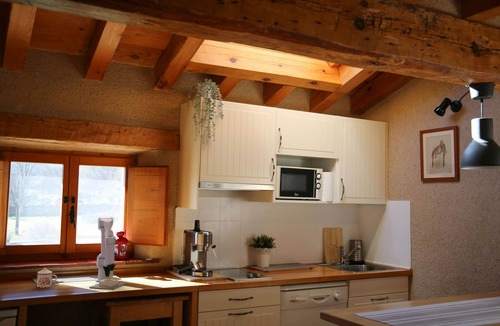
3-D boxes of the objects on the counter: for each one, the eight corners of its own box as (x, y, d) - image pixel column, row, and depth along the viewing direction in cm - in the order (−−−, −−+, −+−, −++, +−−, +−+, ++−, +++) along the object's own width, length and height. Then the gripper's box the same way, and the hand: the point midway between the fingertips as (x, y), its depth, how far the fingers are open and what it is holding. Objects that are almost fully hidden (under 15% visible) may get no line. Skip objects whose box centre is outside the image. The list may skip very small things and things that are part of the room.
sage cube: (105, 278, 329) (105, 270, 329) (112, 278, 329) (113, 270, 329) (102, 279, 324) (103, 271, 324) (110, 279, 324) (110, 271, 324)
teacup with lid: (36, 288, 313) (37, 269, 314) (36, 285, 322) (37, 267, 322) (56, 287, 317) (57, 269, 318) (56, 284, 326) (57, 266, 327)
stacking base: (104, 282, 337) (104, 277, 338) (126, 284, 334) (126, 278, 334) (89, 288, 318) (89, 282, 318) (112, 289, 315) (112, 283, 315)
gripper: (107, 253, 335) (107, 273, 334) (99, 256, 320) (98, 277, 320) (118, 253, 334) (117, 274, 333) (110, 256, 320) (109, 278, 319)
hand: (108, 275), depth 326 cm, fingers closed on sage cube, 5 cm apart
